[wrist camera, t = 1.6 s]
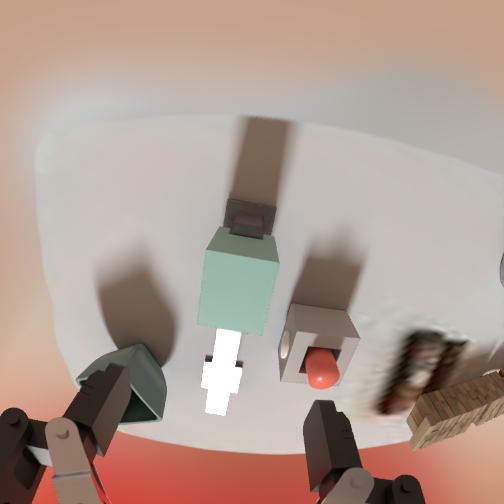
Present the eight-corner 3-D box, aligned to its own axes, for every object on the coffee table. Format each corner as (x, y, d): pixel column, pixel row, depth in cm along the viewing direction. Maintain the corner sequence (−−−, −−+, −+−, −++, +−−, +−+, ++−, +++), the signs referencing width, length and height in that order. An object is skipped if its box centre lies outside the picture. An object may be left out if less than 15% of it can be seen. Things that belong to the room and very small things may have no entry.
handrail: (275, 207, 29) (279, 218, 24) (236, 390, 37) (234, 421, 32) (228, 198, 29) (220, 207, 24) (202, 384, 37) (195, 414, 32)
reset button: (335, 342, 29) (344, 367, 25) (326, 364, 30) (333, 389, 26) (307, 339, 29) (314, 365, 25) (299, 361, 30) (304, 388, 26)
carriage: (274, 236, 26) (279, 262, 19) (261, 294, 28) (262, 335, 21) (219, 226, 26) (206, 249, 19) (211, 285, 28) (197, 324, 21)
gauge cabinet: (346, 310, 33) (360, 338, 27) (329, 355, 35) (338, 386, 29) (288, 302, 33) (293, 331, 27) (275, 349, 35) (277, 381, 29)
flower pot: (101, 341, 36) (73, 380, 27) (145, 326, 35) (119, 369, 26) (134, 385, 38) (114, 426, 30) (179, 375, 37) (163, 421, 28)
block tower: (508, 362, 39) (413, 394, 38) (528, 383, 31) (432, 427, 30) (494, 388, 41) (399, 422, 41) (511, 409, 33) (414, 454, 33)
